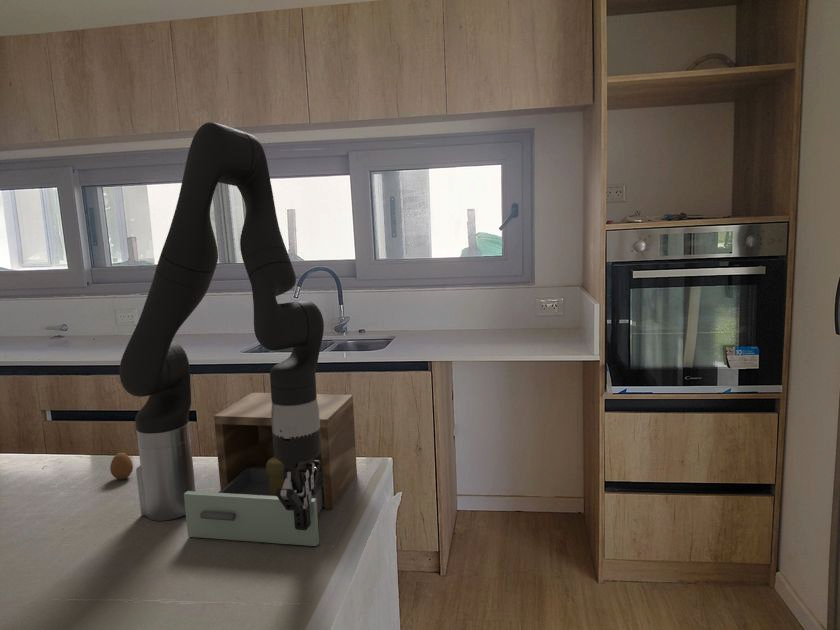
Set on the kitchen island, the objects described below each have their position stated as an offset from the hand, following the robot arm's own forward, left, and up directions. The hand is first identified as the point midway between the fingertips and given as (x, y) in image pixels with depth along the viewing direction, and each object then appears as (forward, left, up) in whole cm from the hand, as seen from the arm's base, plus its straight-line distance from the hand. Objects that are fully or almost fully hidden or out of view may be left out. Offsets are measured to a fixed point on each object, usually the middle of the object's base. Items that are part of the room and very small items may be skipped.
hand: (302, 527), depth 96 cm
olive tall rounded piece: (-8, +11, -4) cm, 14 cm away
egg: (-52, +24, -5) cm, 58 cm away
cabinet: (-12, +24, -5) cm, 27 cm away
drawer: (-11, +12, -5) cm, 17 cm away
